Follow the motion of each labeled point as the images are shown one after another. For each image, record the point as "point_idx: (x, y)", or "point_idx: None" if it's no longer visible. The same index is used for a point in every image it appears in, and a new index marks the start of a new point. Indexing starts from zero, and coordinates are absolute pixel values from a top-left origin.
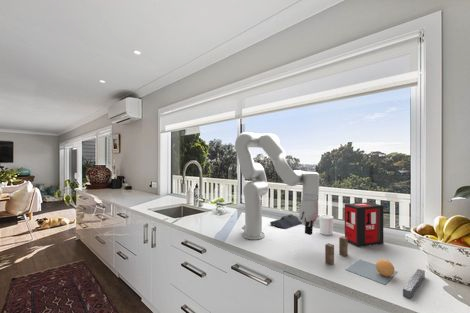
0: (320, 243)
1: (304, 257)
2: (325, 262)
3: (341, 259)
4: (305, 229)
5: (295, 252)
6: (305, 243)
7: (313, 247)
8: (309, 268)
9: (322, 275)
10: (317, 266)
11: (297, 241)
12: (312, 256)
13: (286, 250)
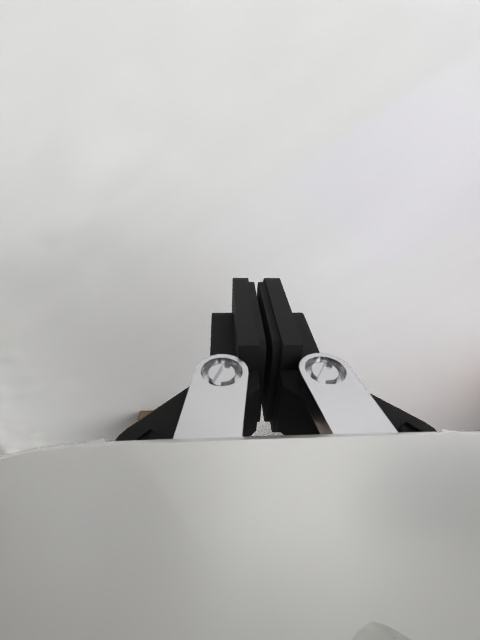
0: (430, 252)
1: (89, 307)
2: (139, 415)
3: (252, 434)
4: (235, 311)
5: (93, 211)
6: (350, 151)
7: (306, 257)
8: (8, 393)
9: (21, 450)
10: (69, 405)
11: (351, 37)
12: (152, 332)
13: (43, 116)
